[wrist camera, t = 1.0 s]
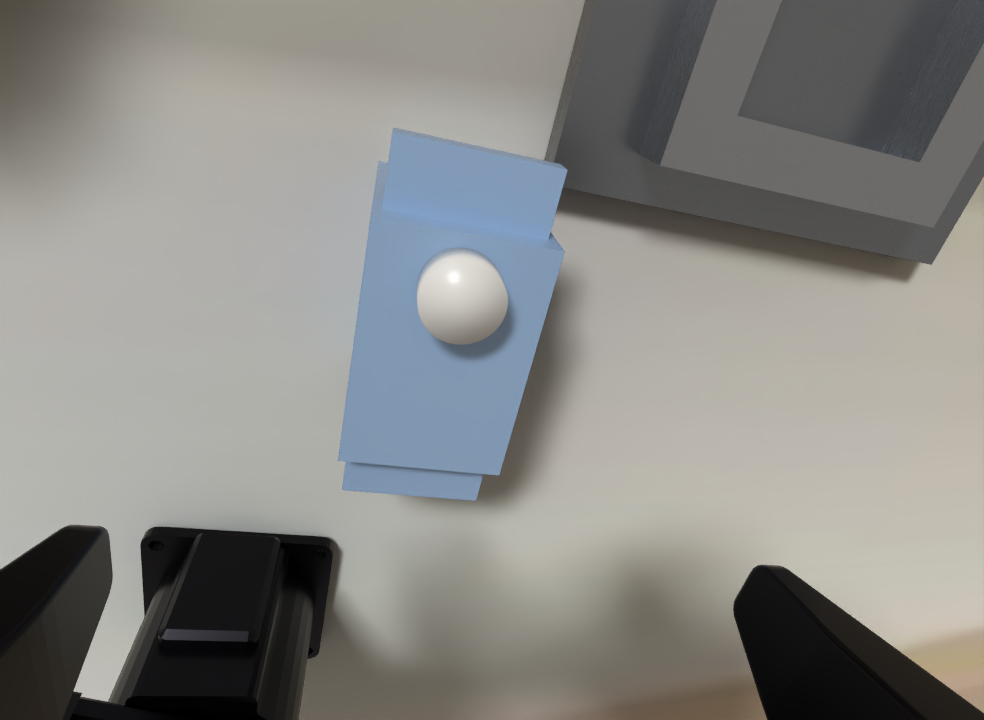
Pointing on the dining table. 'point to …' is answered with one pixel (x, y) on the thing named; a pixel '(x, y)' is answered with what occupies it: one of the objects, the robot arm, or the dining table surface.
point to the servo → (447, 315)
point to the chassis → (782, 114)
